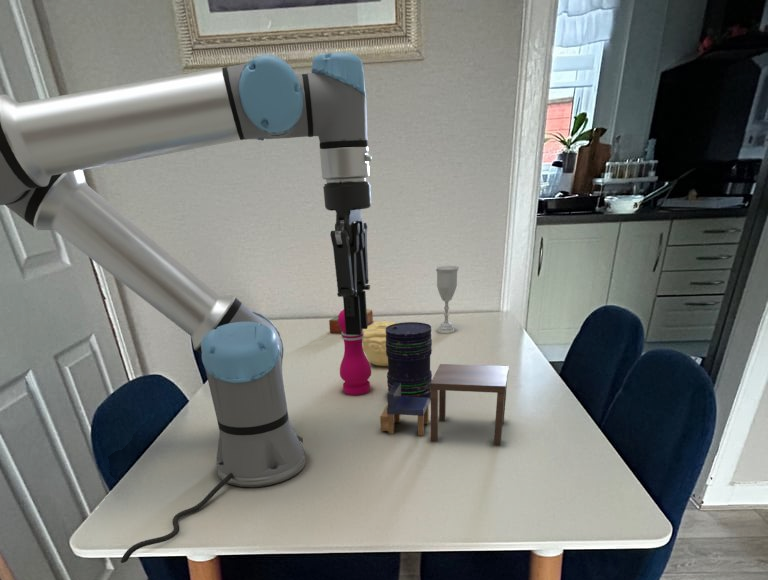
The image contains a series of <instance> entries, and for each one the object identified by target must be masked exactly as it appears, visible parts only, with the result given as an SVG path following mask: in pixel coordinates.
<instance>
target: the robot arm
mask: <svg viewBox="0 0 768 580" xmlns="http://www.w3.org/2000/svg"><path fill="white" fill-rule="evenodd" d="M310 71H311V72H307V73H301V74H300V73H299V74H296V72H295V71H294V69H293V68H292V67H291V65H290V64H289V63H288V62H287V61H285V60H284V59H283V58H281V57H279V56H277V55H274V54H268V53H267V54H260V55H257V56H254V57H253V58H252V59H250V60H249V61H248V62H245V63H240V64H233V65H230V66H226V67H216V68H211V69H204V70H200V71H193V72H188V73H183V74H177V75H171V76H165V77H160V78H154V79H147V80H142V81H137V82H131V83H126V84H120V85H115V86H108V87H103V88H102V87H101V88H97V89H92V90H86V91H79V92H74V93H68V94H63V95H58V96H52V97H45V98H40V99H34V100H29V101H23V102H18V101H17V100H15V99H14V98H12V97H11V96H10V95H8V94H5V93H4V94H0V206H5V207H7V208H8V209H9V210H11V211H12V212H13V213H15V214H16V215H17V216H18V217H20V218H21V219H23V221H25V222H26V223H28V224H29V226H31V227H32V228H34V229H36V231H54V232H56V233H57V234H58V235H60V236H61V237H62V238H64V240H66V241H67V242H69V243H70V244H71V245H73V246H74V247H75V248H76V249H78V250H79V251H80V252H82V253H83V254H84V255H86V256H87V257H88V258H89V259H90V260H92V261H93V262H95V263H96V264H97V265H99V266H100V267H101V268H102V269H103V270H105V271H106V272H107V273H108V274H111V276H113V277H114V278H115V279H116V280H118V281H119V282H120V283H122V284H123V285H124V286H126V287H127V288H128V289H129V290H131V291H132V292H133V293H134V294H136V295H137V296H138V297H140V298H141V299H142V300H144V301H145V302H146V303H147V304H149V305H150V306H151V307H153V308H154V309H155V310H157V311H158V312H159V313H161V314H162V315H163V316H164V317H165V318H167V319H168V320H169V321H171V322H172V323H173V324H174V325H176V326H177V327H179V328H180V329H181V330H183V332H185V333H186V334H188V335H189V336H190V338H191V341H192V346H193V350H194V351H195V352H197V353H198V354H199V355H201V361H202V364H203V366H204V370H205V373H206V374H205V375H206V379H207V382H208V387H209V391H210V396H211V400H212V404H213V408H214V413H215V416H216V421H217V426H218V431H219V436H218V442H217V443H218V444H217V450H216V451H217V452H216V458H215V459H216V460H215V466H216V470H217V474H218V475H217V476H218V477H219V478H220V479H221V481H220V482H218V484H217V485H215V487H214V488H213V489H212V490H210V491H209V493H208V494H207V495H206V496H205V497H204V498H203V499H202V500H201V501H199V503H197V504H195V505H194V506H192V507H189V508H187V509H184V510H181V511H179V512H178V513H177V514H175V515H174V516H173V518H172V525H173V529H172V531H171V532H170V533H168V534H165V535H163V536H159V537H154V538H150V539H145V540H142V541H139V542H137V543H135V544H132V546H130V547H129V548H128V549H127V550H126V551H125V552H124V554H123V556H122V557H121V559H120V563H121V564H124V563H126V562H127V561H129V559H130V557H131V556H132V555H133V554H134V553H135V552H136V551H138V550H139V549H142V548H144V547H147V546H151V545H156V544H161V543H164V542H167V541H170V540H171V539H173V538H175V537H176V536H177V535H178V534H179V532H180V524H179V520H180V519H181V518H182V517H185V516H187V515H190V514H193V513H195V512H197V511H199V510H200V509H202V508H203V507H204V506H205V505H206V504H208V502H209V501H210V500H211V499H212V498H213V497H214V496H215V495H216V494H217V492H218V491H220V490H221V489H222V488H223V487H224V486H226V484H229V485H231V486H234V487H241V488H259V487H266V486H271V485H272V486H273V485H276V484H279V483H282V482H285V481H286V480H289V479H291V478H293V477H295V476H296V475H298V474H299V473H300V472H301V471H302V470H303V469H304V467H305V465H306V455H305V450H304V447H303V445H302V444H303V443H304V439H303V437H302V436H300V435H298V434H297V433H296V431H295V430H294V427H293V426H292V424H291V422H290V418H289V411H288V405H287V398H286V391H285V385H284V378H283V360H284V343H283V339H282V336H281V334H280V332H279V331H278V329H277V327H276V325H275V324H274V323H273V322H272V321H271V320H270V319H268V318H267V316H265V315H263V314H260V313H259V312H256V311H253V310H251V309H249V308H248V307H247V306H246V305H245V304H244V303H242V301H240V300H239V299H238V298H237V297H235V296H234V295H231V296H230V295H229V296H222V295H219V294H218V293H217V292H216V291H214V290H213V288H211V287H210V286H209V285H207V284H206V283H205V282H204V281H203V280H201V279H200V278H199V277H198V276H197V275H196V274H194V273H193V272H192V271H191V270H189V268H187V266H185V265H184V264H183V263H181V262H180V261H179V260H177V258H175V257H174V256H173V255H171V254H170V252H168V251H167V250H166V249H164V248H163V246H161V245H160V244H159V243H157V242H156V241H155V240H154V239H153V238H151V237H150V236H149V235H148V234H146V232H145V231H143V230H142V229H141V228H140V227H138V226H137V225H136V224H134V222H132V221H131V220H130V219H129V218H128V217H127V216H125V215H124V214H123V213H122V212H120V211H119V210H118V208H116V207H114V206H113V205H112V204H111V203H109V201H108V200H107V199H105V198H104V197H103V196H101V195H100V194H99V193H98V192H97V191H95V190H94V189H93V188H91V186H89V185H88V183H87V180H86V177H85V173H84V170H88V169H93V168H99V167H104V166H109V165H116V164H120V163H127V162H131V161H136V160H137V161H138V160H142V159H147V158H152V157H157V156H163V155H168V154H169V155H170V154H173V153H179V152H185V151H190V150H191V151H192V150H195V149H201V148H205V147H212V146H217V145H222V144H228V143H232V142H239V141H244V140H257V141H266V140H277V139H278V140H279V139H292V138H304V137H306V138H307V137H308V138H312V137H313V138H314V137H317V138H318V141H319V156H320V157H319V158H320V169H321V178H322V179H323V180H325V182H326V183H324V185H323V187H322V188H323V197H324V198H323V199H324V200H323V201H324V207H325V209H326V210H327V211H335V213H336V214H335V223H334V230H331V231H330V240H331V245H332V249H333V250H332V251H333V259H334V260H333V261H334V266H335V269H334V270H335V278H336V287H337V293H336V294H337V297H339V298H342V300H343V301H342V302H343V309H344V315H345V327H346V335H361V334H362V331H361V329H362V330H363V329H367V328H368V326H369V325H367V295H366V291H370V290H371V285H370V284H369V281H370V279H369V260H368V223H367V222H364V220H363V218H362V211H361V210H366V209H369V208H371V206H372V194H371V183H370V182H369V181H367V178H368V177H369V176H370V165H369V164H370V163H371V162H372V160H373V156H372V154H371V153H369V141H368V140H369V137H368V113H367V112H368V111H367V91H366V85H365V84H366V83H365V74H364V73H365V72H364V64H363V61H362V59H361V57H360V56H358V55H357V54H355V53H351V52H341V51H340V52H338V51H337V52H330V53H321V54H317V55H315V56H314V57H313V58H312V62H311V70H310ZM301 443H302V444H301Z"/></svg>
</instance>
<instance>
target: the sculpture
mask: <svg viewBox="0 0 768 580" xmlns="http://www.w3.org/2000/svg"><path fill="white" fill-rule="evenodd" d="M392 324H397V322H396V321H387V320H382V321H373V322H372V323H371V324H369V325H367V326H368V328H367V329H362V330H363V331H364V333H363V334H364V338H362V345H363V350H364V353H365V356H366V358H367V360H368V362H369V363H371V364H372V365H374V366H376V367H377V366H378V367H388V357H387V355H386V330H385V329H386V327H387V326H390V325H392Z"/></svg>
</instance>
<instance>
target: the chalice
mask: <svg viewBox="0 0 768 580" xmlns="http://www.w3.org/2000/svg"><path fill="white" fill-rule="evenodd" d="M459 269H460V267H459V266H458V265H439V266H436V267H435V270H436V287H437V290H438V294H439V297H440V298H441V301H443V302H444V307H443V310H444V313H443V316H444V321H443V322H441V323H440V325H439V328H438V330H437V332H438V333H441V334H451V333H454V332H455V329H454V326H453V323H452V322H450V321H449V316H450V313H449V310H450V307H449V302H451V301H452V300H453V298H454V295H455V292H456V290H457V286H458V271H459Z"/></svg>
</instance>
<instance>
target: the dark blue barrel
mask: <svg viewBox="0 0 768 580" xmlns="http://www.w3.org/2000/svg"><path fill="white" fill-rule="evenodd" d="M385 330H386V355H387V357H388V366H387V373H386V377H387V382H386V384H387V385H386V386H387V391H388V392H389V391H390V389H391V388H392V386H393V385H394V383H401V396H402V397H424V398H429V400H431V390H430V383H431V381H432V379H433V374H432V369H431V355H432V351H433V349H432V345H433V339H432V326H431V325H430V324H428V323H425V322H418V321H404V322H396V324H392V325H390V326H387V327H386V329H385Z"/></svg>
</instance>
